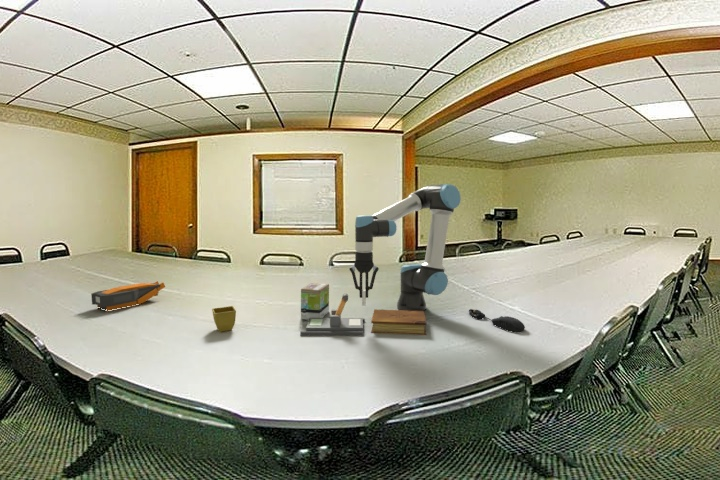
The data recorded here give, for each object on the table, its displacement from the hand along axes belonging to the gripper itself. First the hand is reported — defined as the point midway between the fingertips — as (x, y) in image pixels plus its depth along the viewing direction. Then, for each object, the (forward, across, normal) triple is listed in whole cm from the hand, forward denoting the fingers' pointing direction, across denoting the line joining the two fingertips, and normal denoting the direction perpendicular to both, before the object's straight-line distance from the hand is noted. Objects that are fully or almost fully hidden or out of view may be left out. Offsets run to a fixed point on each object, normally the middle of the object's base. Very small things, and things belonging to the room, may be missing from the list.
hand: (363, 304), depth 164 cm
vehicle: (+11, +125, -40) cm, 132 cm away
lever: (+7, +12, 0) cm, 14 cm away
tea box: (+11, +23, -19) cm, 32 cm away
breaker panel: (+11, +12, 0) cm, 16 cm away
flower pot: (+11, +60, +2) cm, 61 cm away
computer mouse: (+11, -61, -8) cm, 62 cm away
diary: (+11, -16, -2) cm, 19 cm away
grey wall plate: (+11, +12, 0) cm, 16 cm away
